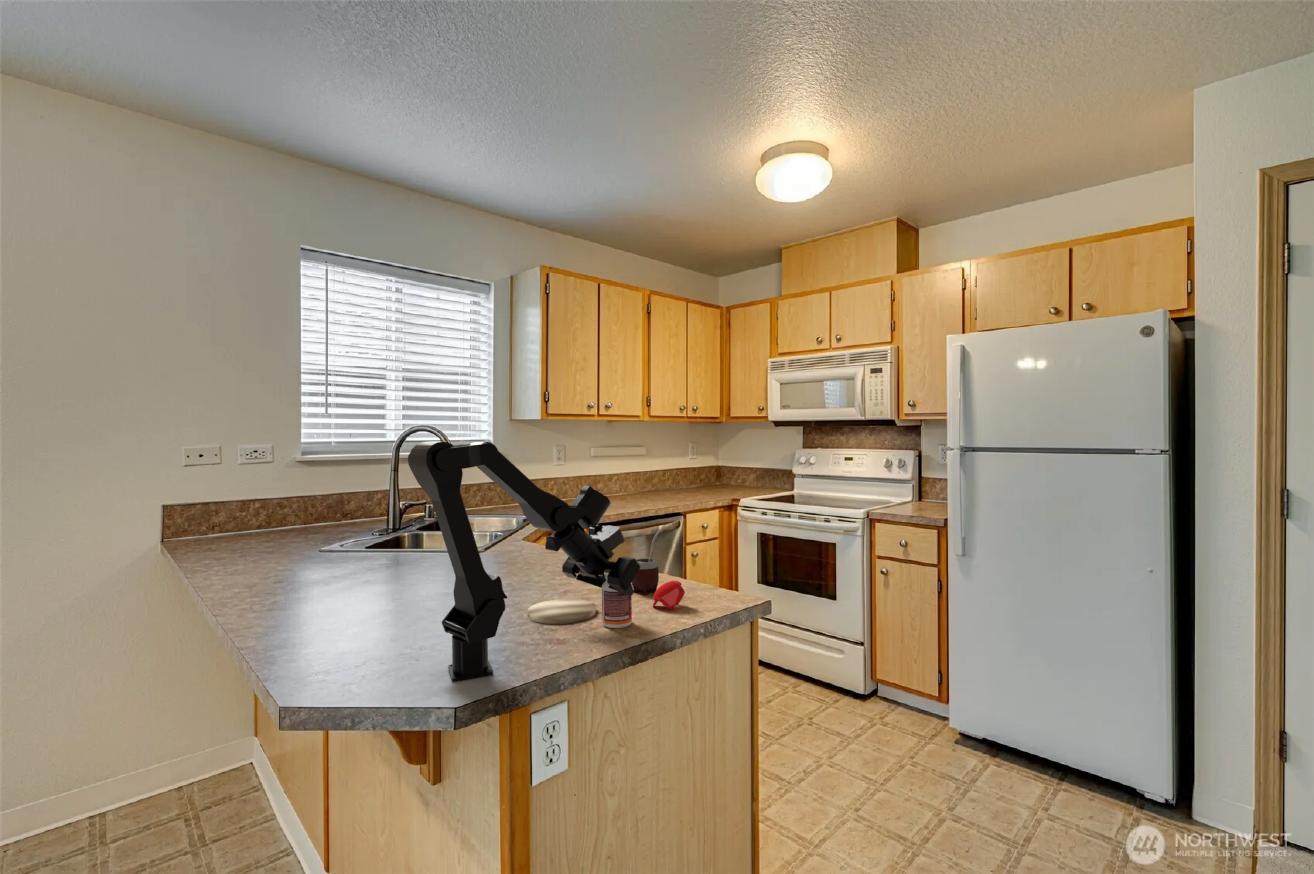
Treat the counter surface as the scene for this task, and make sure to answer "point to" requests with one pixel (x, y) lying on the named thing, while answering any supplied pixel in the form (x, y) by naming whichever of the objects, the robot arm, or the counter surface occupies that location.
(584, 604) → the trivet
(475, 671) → the robot arm
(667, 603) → the cap
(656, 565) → the mate gourd
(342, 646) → the counter surface
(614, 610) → the pill bottle
